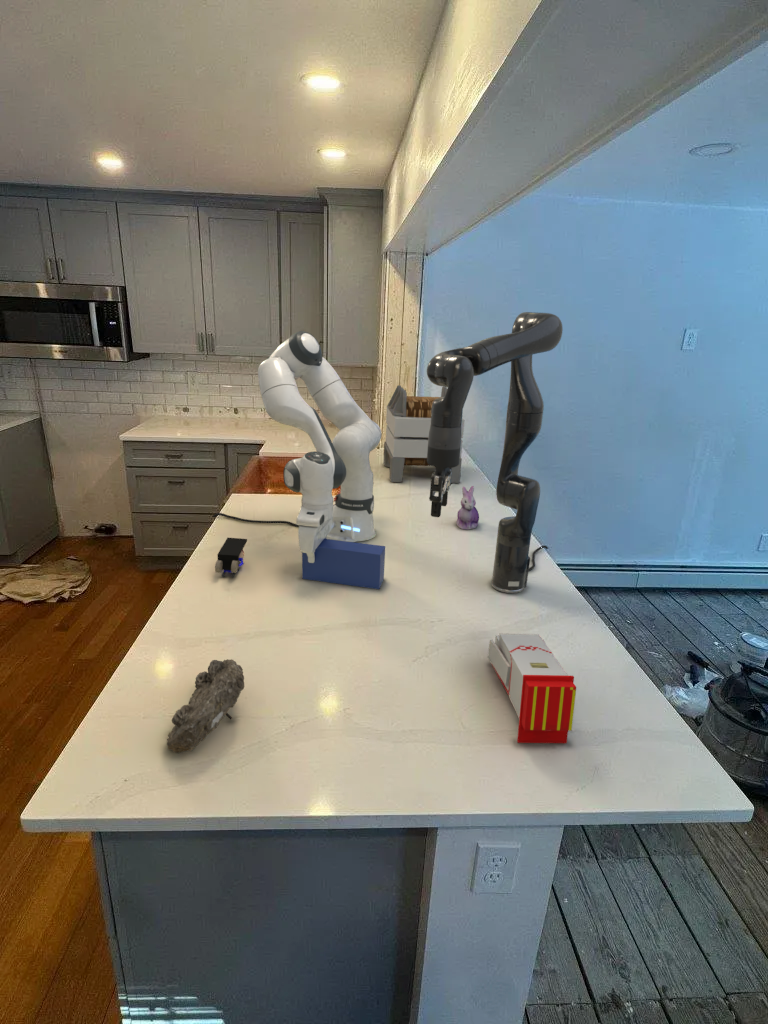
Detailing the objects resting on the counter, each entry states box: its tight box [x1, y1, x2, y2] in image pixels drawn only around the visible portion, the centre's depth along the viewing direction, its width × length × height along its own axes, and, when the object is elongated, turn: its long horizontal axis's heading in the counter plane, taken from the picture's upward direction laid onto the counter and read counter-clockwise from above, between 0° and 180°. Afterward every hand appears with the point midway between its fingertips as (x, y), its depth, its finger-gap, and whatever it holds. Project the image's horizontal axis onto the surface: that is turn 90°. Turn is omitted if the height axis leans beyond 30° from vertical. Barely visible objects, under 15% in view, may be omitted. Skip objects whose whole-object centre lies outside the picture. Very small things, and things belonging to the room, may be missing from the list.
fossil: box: [166, 658, 245, 754], centre depth 106 cm, size 22×10×15 cm
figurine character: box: [214, 537, 248, 578], centre depth 166 cm, size 7×8×15 cm
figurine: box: [456, 485, 480, 530], centre depth 208 cm, size 9×10×15 cm
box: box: [301, 539, 386, 590], centre depth 163 cm, size 23×6×11 cm, turn 78°
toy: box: [487, 632, 577, 744], centre depth 116 cm, size 12×13×30 cm
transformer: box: [383, 384, 465, 484], centre depth 268 cm, size 34×33×41 cm
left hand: (317, 555), depth 164 cm, fingers open, 8 cm apart
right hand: (438, 510), depth 136 cm, fingers open, 8 cm apart
